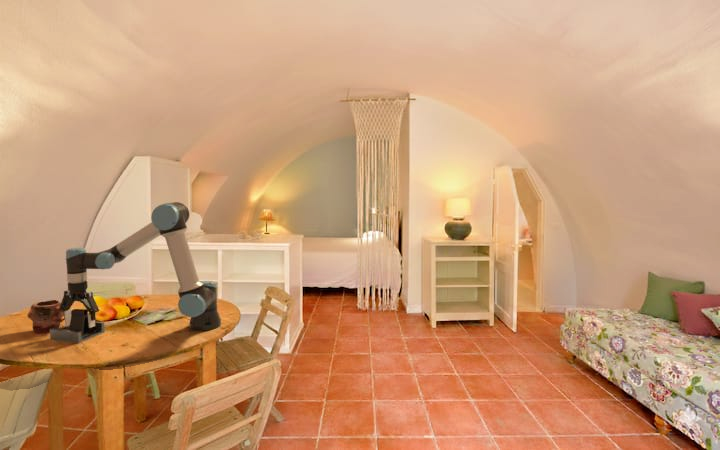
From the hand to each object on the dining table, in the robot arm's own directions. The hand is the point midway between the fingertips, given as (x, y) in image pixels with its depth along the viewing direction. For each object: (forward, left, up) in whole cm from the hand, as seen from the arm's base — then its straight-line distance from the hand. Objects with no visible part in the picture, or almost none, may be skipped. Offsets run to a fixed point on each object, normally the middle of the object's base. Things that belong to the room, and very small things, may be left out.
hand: (80, 325), depth 190 cm
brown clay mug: (+20, -2, -5) cm, 21 cm away
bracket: (+2, 0, -5) cm, 5 cm away
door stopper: (0, 0, -4) cm, 4 cm away
